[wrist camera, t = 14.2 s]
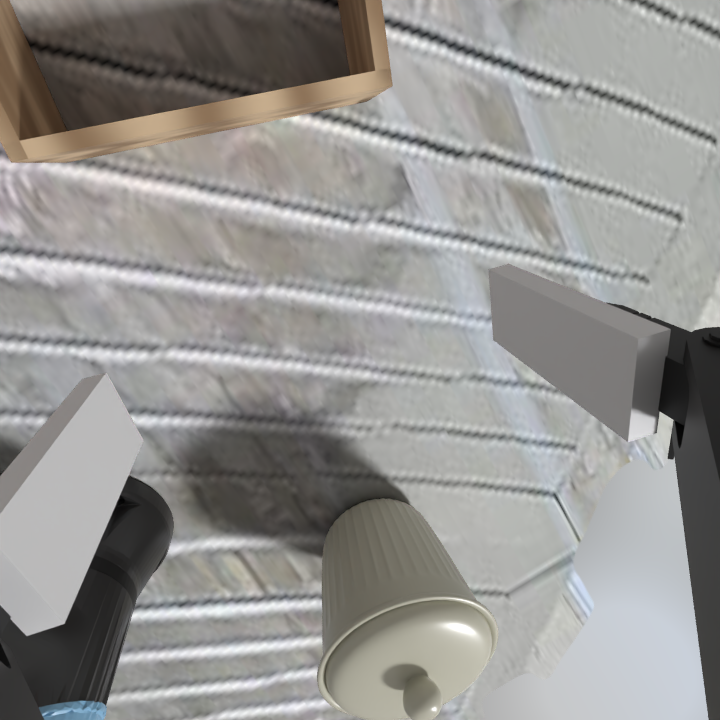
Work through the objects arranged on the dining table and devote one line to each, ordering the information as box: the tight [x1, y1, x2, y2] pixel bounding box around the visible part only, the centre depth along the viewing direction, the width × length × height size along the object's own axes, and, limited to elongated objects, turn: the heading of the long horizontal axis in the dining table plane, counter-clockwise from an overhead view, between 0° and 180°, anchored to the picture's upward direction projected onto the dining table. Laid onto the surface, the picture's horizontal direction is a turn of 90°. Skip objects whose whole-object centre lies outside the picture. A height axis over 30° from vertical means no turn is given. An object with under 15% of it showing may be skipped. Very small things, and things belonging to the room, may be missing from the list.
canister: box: [317, 498, 498, 720], centre depth 46 cm, size 18×18×21 cm
